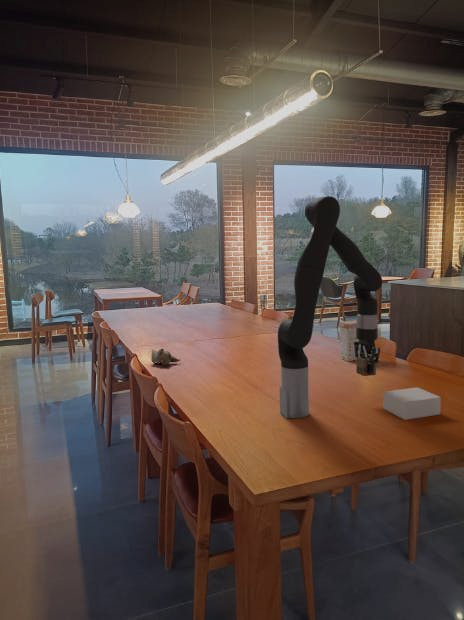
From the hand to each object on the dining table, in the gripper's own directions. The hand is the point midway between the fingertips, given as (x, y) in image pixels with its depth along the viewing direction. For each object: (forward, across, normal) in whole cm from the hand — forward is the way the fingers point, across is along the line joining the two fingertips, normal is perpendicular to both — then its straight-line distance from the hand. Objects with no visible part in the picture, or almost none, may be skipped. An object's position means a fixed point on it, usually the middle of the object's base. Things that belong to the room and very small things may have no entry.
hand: (366, 371), depth 172 cm
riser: (+11, +15, +8) cm, 20 cm away
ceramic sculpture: (+13, -88, -63) cm, 109 cm away
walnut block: (+1, 0, 0) cm, 1 cm away
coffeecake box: (+11, -59, +32) cm, 68 cm away
